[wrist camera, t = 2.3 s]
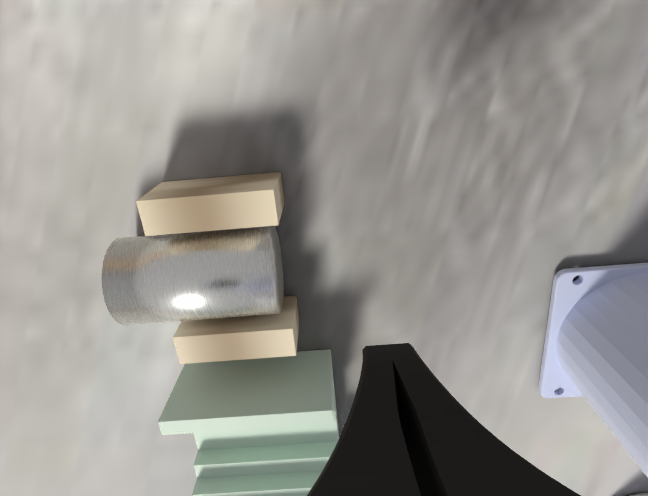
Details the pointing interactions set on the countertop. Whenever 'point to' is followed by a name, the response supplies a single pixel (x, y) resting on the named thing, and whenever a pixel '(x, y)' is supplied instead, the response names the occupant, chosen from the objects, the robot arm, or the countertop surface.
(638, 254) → the countertop surface
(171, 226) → the beige blocks
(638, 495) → the can
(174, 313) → the axle
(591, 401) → the robot arm
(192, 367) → the v block
